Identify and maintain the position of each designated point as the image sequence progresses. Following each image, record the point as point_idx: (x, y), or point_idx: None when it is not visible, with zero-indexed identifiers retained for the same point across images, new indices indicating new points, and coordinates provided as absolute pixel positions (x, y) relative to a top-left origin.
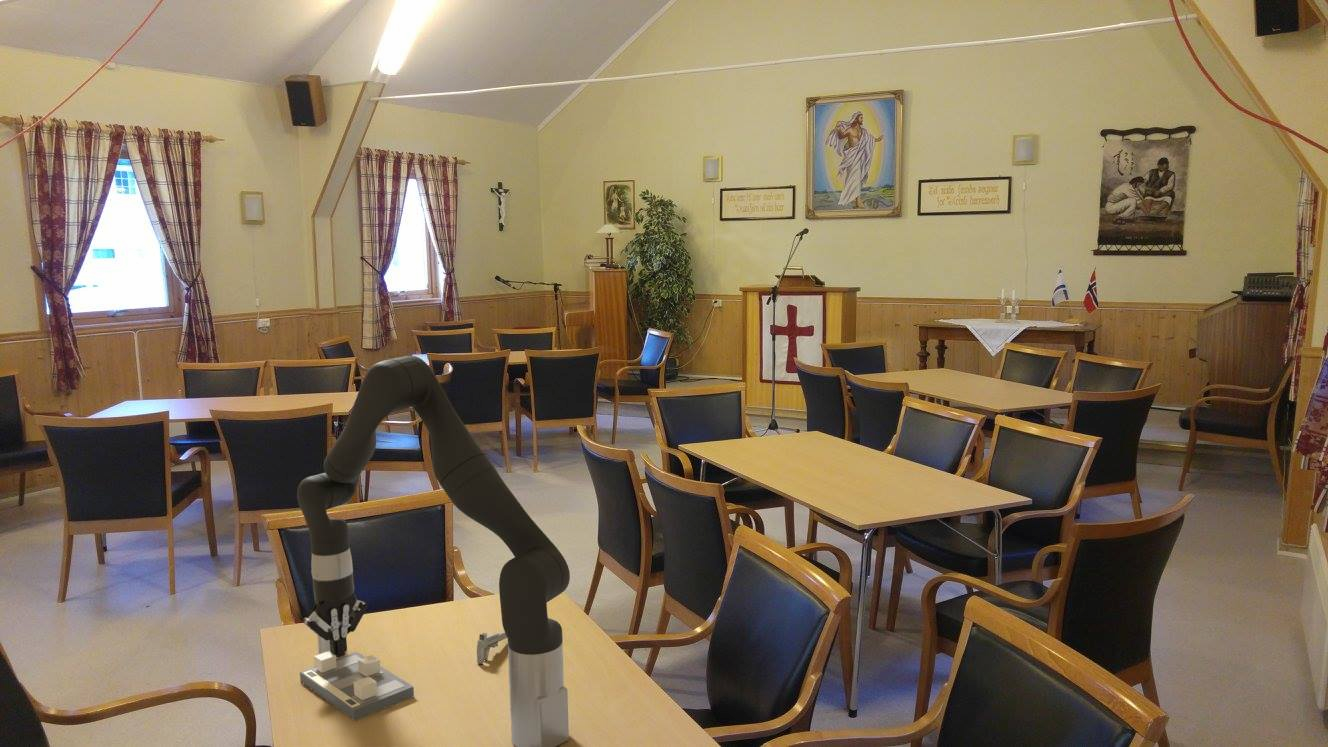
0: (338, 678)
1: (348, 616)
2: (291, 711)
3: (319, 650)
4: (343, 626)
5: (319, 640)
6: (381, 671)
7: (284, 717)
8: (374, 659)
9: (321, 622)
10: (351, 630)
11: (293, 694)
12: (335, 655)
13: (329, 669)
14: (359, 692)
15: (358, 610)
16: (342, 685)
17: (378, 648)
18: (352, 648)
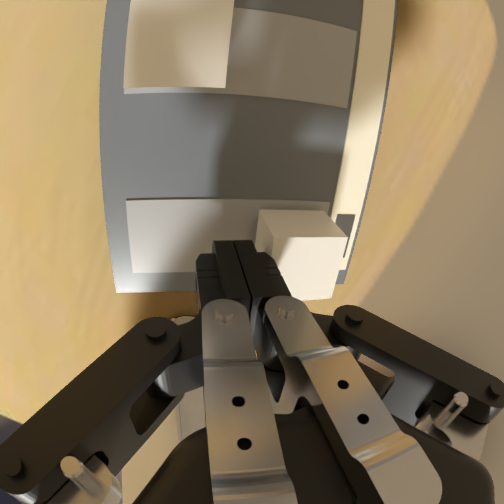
0: (303, 121)
1: (208, 436)
2: (447, 116)
3: None
4: (249, 361)
5: None
6: None
7: (468, 105)
8: (155, 14)
9: None
10: (166, 327)
11: (390, 203)
12: (274, 239)
13: (293, 210)
14: None
15: (80, 461)
16: (334, 47)
17: (39, 300)
18: (106, 348)
